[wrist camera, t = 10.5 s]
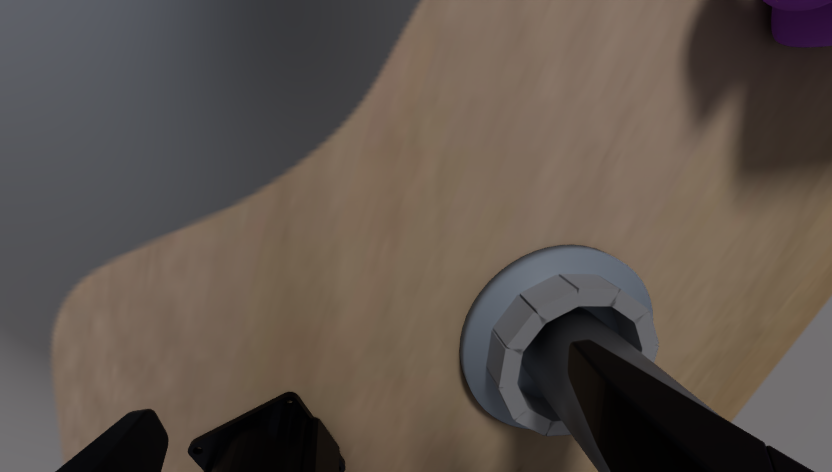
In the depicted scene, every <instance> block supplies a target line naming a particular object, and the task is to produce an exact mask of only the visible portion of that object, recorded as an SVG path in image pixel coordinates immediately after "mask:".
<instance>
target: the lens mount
mask: <svg viewBox="0 0 832 472" xmlns="http://www.w3.org/2000/svg"><path fill="white" fill-rule="evenodd" d="M576 307H580V308H583V309H586V310H588V311H589V312H591V313H592V314H593V315H595V316H596V317H597V318H598V319H600V320H601V321H602V322H603V323H605V324H606V325H607V326H608V327H610V328H611V329H612V330H613V331H615V332H616V333H617V334H618V335H620V336H621V337H622V338H623V339H625V340H626V341H627V342H628V343H630V344H631V345H632V346H633V347H634V348H636V349H637V350H638V351H639V352H641V353H642V354H643V355H644V356H646V357H647V358H648V359H649V360H651V361H652V362H653V363H654V361H655V357H656V354H657V350H658V347H659V346H658V345H657V344H659V342H658V338H657V335H656V331H655V327H654V324H653V310H652V305H651V300H650V297H649V294H648V292H647V289H646V287H645V286H644V284H643V282H642V280H641V279H640V278H639V277H638V275H637V274H636V273H635V272H634V271H633V270H632V269H631V268H630V267H629V266H628V265H626V264H625V263H623V262H621V261H620V260H618V259H617V258H615V257H613V256H611V255H609V254H607V253H605V252H603V251H600V250H598V249H595V248H591V247H587V246H581V245H558V246H552V247H547V248H544V249H540V250H537V251H534V252H532V253H529V254H527V255H525V256H523V257H521V258H519V259H517V260H516V261H514V262H512V263H511V264H509V265H508V266H507V267H505V268H504V269H503V270H501V271H500V272H499V273H498V274H497V275H495V276H494V277H493V278H492V279H491V280H490V281H489V282H488V283H487V285H486V286H485V287H484V288H483V289H482V291H481V292H480V293H479V295H478V296H477V298H476V299H475V301H474V302H473V304H472V306H471V308H470V310H469V312H468V314H467V317H466V319H465V322H464V325H463V329H462V334H461V338H460V361H461V366H462V370H463V373H464V376H465V378H466V381H467V383H468V385H469V387H470V389H471V391H472V393H473V395H474V397H475V398H476V400H477V401H478V403H479V404H480V405H481V406H482V407H483V408H484V409H485V410H486V411H487V412H488V413H489V414H491V415H492V416H493V417H495V418H496V419H498V420H500V421H502V422H504V423H506V424H509V425H511V426H515V427H519V428H525V429H532V430H534V431H536V432H538V433H540V434H542V435H544V436H545V434H546V436H558V435H572V434H571V433H570V432H569V430H568V429H567V427H566V426H565V425H564V423H563V422H562V420H561V419H560V418H559V416H558V415H557V413H556V412H555V411H554V409H553V408H552V407H551V405H550V404H549V402H548V401H547V400H546V398H545V397H544V395H543V394H542V393H541V391H540V390H539V389H538V387H537V386H536V384H535V383H534V382H533V380H532V379H531V377H530V376H529V375H528V373H527V372H526V370H525V369H524V367H523V365H522V361H521V360H522V355H523V351H524V350H525V349H526V348H527V346H528V345H529V344H530V343H531V341H532V340H533V339H534V337H535V336H536V335H537V334H538V332H539V331H540V330H541V329H542V327H543V326H544V325H545V323H547V322H549V321H551V320H553V319H555V318H557V317H559V316H561V315H563V314H565V313H567V312H569V311H570V310H572V309H574V308H576Z"/></svg>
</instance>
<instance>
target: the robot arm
mask: <svg viewBox="0 0 832 472" xmlns="http://www.w3.org/2000/svg"><path fill="white" fill-rule="evenodd" d="M567 372H568V377H569V380H570V383H571V385H572V387H573V390H574V392H575V395H576V397H577V399H578V402H579V404H580V407H581V409H582V412H583V414H584V416H585V419H586V421H587V424H588V426H589V428H590V431H591V433H592V436H593V438H594V440H595V442H596V445H597V447H598V449H599V451H600V453H601V455H602V457H603V459H604V460H605V462H606V464H607V466H608V468H609V470H610V472H814V471H812V470H811V469H809V468H807V467H805V466H804V465H802V464H800V463H798V462H797V461H795V460H793V459H792V458H790V457H788V456H786V455H785V454H783V453H781V452H779V451H778V450H776V449H775V448H773V447H771V446H766V445H765V443H764V442H763V441H761V440H759V439H758V438H756V437H754V436H752V435H751V434H749V433H747V432H746V431H744V430H742V429H741V428H739V427H737V426H735V425H734V424H732V423H731V422H729V421H727V420H726V419H724V418H722V417H721V416H719V415H717V414H715V413H714V412H712V411H710V410H709V409H707V408H705V407H704V406H702V405H700V404H699V403H697V402H695V401H694V400H692V399H690V398H689V397H687V396H685V395H683V394H682V393H680V392H678V391H677V390H675V389H673V388H672V387H670V386H668V385H667V384H665V383H663V382H662V381H660V380H658V379H657V378H655V377H653V376H651V375H650V374H648V373H646V372H645V371H643V370H641V369H640V368H638V367H636V366H635V365H633V364H631V363H630V362H628V361H626V360H625V359H623V358H621V357H619V356H618V355H616V354H614V353H613V352H611V351H609V350H608V349H606V348H604V347H603V346H601V345H599V344H598V343H596V342H594V341H592V340H590V339H581V340H575V341H572V342H570V344H569V350H568V365H567ZM288 400H291V401H293V402H292V403H287V402H286V401H288ZM196 447H200V448H202V449H198V448H196ZM167 448H168V435H167V432H166V430H165V429H164V427H163V425H162V423H161V422H160V420H159V418H158V416H157V414H156V413H155V411H153V410H152V409H143V410H137V411H132V412H130V413H128V414H126V415H125V416H124V417H123V418H121V419H120V420H119V421H118V422H116V423H115V424H114V425H113V426H111V427H110V428H109V429H108V430H106V431H105V432H104V433H103V434H101V435H100V436H99V437H98V438H97V439H95V440H94V441H93V442H92V443H90V444H89V445H88V446H87V447H85V448H84V449H83V450H82V451H80V452H79V453H78V454H77V455H75V456H74V457H73V458H72V459H71V460H69V461H68V462H67V463H66V464H64V465H63V466H62V467H61V468H59V469H58V470H57V471H56V472H161V470H162V466H163V462H164V459H165V455H166V451H167ZM188 454H189V455H190V456H191V457H192V458H193V460H194V461H195V462H196V463H197V464H198V465H199V466H200V467H201V468H202V469H203V471H204V472H344V471H345V460H344V459H343V457H342V456H341V455H340V453H339V446H338V444H337V443H336V442H335V440H334V439H333V437H332V436H331V435H330V433H329V432H328V430H327V429H326V428H325V426H324V425H323V423H322V422H321V421H320V419H318V418H316V417H313V416H312V414H311V413H310V411H309V410H308V409H307V407H306V406H305V404H304V403H303V402H302V400H301V399H300V398H299V396H298V395H297V394H296V393H294V392H286V393H284V394H282V395H280V396H278V397H276V398H274V399H272V400H270V401H268V402H266V403H264V404H262V405H260V406H258V407H256V408H254V409H252V410H251V411H249V412H247V413H245V414H243V415H241V416H239V417H237V418H235V419H233V420H231V421H229V422H227V423H225V424H223V425H221V426H219V427H217V428H215V429H213V430H211V431H209V432H207V433H206V434H204V435H202V436H200V437H198V438H196V439H194V440H193V441H192V442H191V444H190V446H189V448H188Z"/></svg>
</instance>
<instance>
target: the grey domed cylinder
mask: <svg viewBox="0 0 832 472" xmlns="http://www.w3.org/2000/svg"><path fill="white" fill-rule="evenodd" d="M581 339H590V340H592V341H594V342H596V343H598V344H599V345H601V346H603V347H604V348H606V349H608V350H609V351H611V352H613V353H614V354H616V355H618V356H619V357H621V358H623V359H625V360H626V361H628V362H630V363H631V364H633V365H635V366H636V367H638V368H640V369H641V370H643V371H645V372H646V373H648V374H650V375H651V376H653V377H655V378H657V379H658V380H660V381H662V382H663V383H665V384H667V385H668V386H670V387H672V388H673V389H675V390H677V391H678V392H680V393H682V394H683V395H685V396H687V397H689V398H690V399H692V400H694V401H695V402H697V403H699V404H700V405H702V406H704V407H705V408H707V409H709V410H710V411H712V412H714V411H713V410H712V409H711V408H709V407H708V406H707V405H706V404H704V403H703V402H702V401H701V400H699V399H698V398H697V397H696V396H694V395H693V394H692V393H691V392H689V391H688V390H687V389H686V388H684V387H683V386H682V385H681V384H679V383H678V382H677V381H676V380H674V379H673V378H672V377H671V376H669V375H668V374H667V373H666V372H664V371H663V370H662V369H661V368H659V367H658V366H657V365H656V364H654V363H653V362H652V361H651V360H649V359H648V358H647V357H646V356H644V355H643V354H642V353H641V352H639V351H638V350H637V349H636V348H634V347H633V346H632V345H631V344H630V343H628V342H627V341H626V340H625V339H623V338H622V337H621V336H620V335H618V334H617V333H616V332H615V331H613V330H612V329H611V328H610V327H608V326H607V325H606V324H605V323H603V322H602V321H601V320H600V319H598V318H597V317H596V316H595V315H593V314H592V313H591V312H589V311H588V310H586V309H583V308H580V307H576V308H574V309H572V310H570V311H569V312H567V313H565V314H563V315H561V316H559V317H557V318H555V319H553V320H551V321H549V322H547V323H545V325H544V326H543V327H542V329H541V330H540V331H539V332H538V334H537V335H536V336H535V337H534V339H533V340H532V341H531V343H530V344H529V345H528V346H527V348H526V349H525V350H524V351H523V355H522V360H521V361H522V365H523V367H524V369H525V370H526V372H527V373H528V375H529V376H530V377H531V379H532V380H533V382H534V383H535V384H536V386H537V387H538V389H539V390H540V391H541V393H542V394H543V395H544V397H545V398H546V400H547V401H548V402H549V404H550V405H551V407H552V408H553V409H554V411H555V412H556V413H557V415H558V416H559V418H560V419H561V420H562V422H563V423H564V425H565V426H566V427H567V429H568V430H569V432H570V433H571V434H572V436H573V437H574V438H575V440H576V441H577V443H578V444H579V445H580V447H581V448H582V450H583V451H584V452H585V454H586V455H587V456H588V458H589V459H590V461H591V462H592V463H593V465H594V466H595V468H596V469H597V470H598V472H610V470H609V468H608V466H607V464H606V462H605V460H604V459H603V457H602V455H601V453H600V451H599V449H598V447H597V445H596V442H595V440H594V438H593V436H592V433H591V431H590V428H589V426H588V424H587V421H586V419H585V416H584V414H583V412H582V409H581V407H580V404H579V402H578V399H577V397H576V395H575V392H574V390H573V387H572V385H571V383H570V380H569V377H568V372H567V365H568V350H569V344H570V342H572V341H575V340H581ZM714 413H715V414H717V413H716V412H714ZM717 415H718V414H717Z"/></svg>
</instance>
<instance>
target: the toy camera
mask: <svg viewBox="0 0 832 472" xmlns="http://www.w3.org/2000/svg"><path fill="white" fill-rule="evenodd" d="M763 1H764V2H765V3H767V4H768V5H770V6H772V15H771V30H772V35H773V37H774V39H775V40H776V41H777V42H778V43H780V44H782V45H786V46H791V47H823V46H832V0H763Z"/></svg>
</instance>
